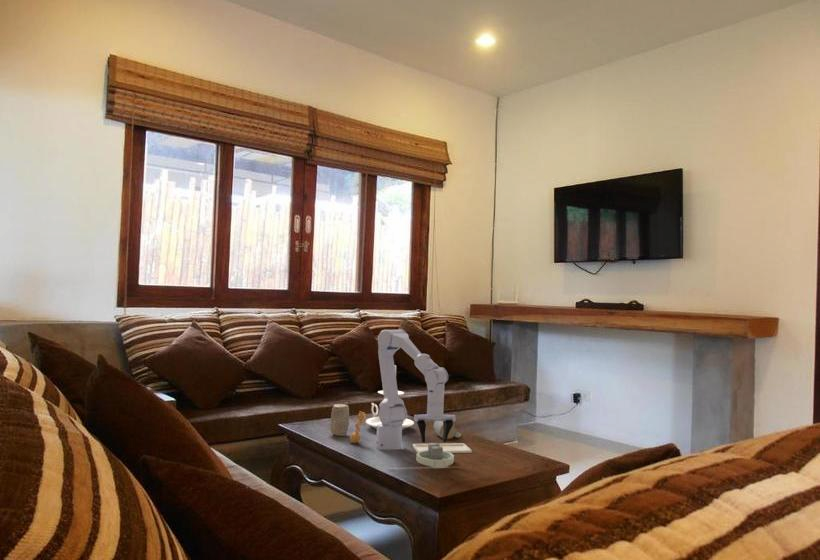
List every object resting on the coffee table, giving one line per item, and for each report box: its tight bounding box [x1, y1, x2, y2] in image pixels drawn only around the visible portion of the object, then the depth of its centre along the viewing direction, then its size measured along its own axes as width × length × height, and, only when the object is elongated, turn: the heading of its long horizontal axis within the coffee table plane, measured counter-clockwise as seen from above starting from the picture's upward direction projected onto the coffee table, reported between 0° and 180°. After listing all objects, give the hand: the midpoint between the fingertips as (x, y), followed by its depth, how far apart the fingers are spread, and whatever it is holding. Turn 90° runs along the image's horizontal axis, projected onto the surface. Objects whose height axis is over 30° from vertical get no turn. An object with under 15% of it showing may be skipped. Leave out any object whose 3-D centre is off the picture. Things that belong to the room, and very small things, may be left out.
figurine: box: [349, 410, 368, 444], centre depth 219 cm, size 8×6×12 cm
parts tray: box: [412, 442, 473, 454], centre depth 212 cm, size 20×10×1 cm, turn 101°
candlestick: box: [365, 364, 415, 431], centre depth 245 cm, size 21×25×28 cm
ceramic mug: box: [432, 421, 462, 440], centre depth 232 cm, size 11×8×8 cm
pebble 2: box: [431, 446, 443, 460], centre depth 195 cm, size 4×4×5 cm
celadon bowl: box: [415, 450, 455, 469], centre depth 197 cm, size 13×13×3 cm
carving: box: [329, 403, 350, 437], centre depth 230 cm, size 6×8×12 cm
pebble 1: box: [427, 442, 441, 459], centre depth 200 cm, size 4×4×5 cm
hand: (433, 441), depth 200 cm, fingers open, 7 cm apart
